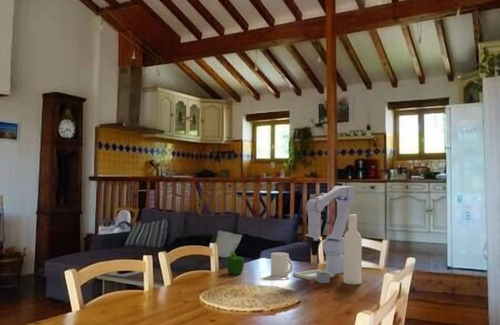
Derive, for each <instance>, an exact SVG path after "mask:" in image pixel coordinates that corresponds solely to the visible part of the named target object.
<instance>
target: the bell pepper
mask: <svg viewBox="0 0 500 325" xmlns="http://www.w3.org/2000/svg"><path fill="white" fill-rule="evenodd" d="M230 255H231V256H227V257H226V259H225V264H226V265H225V266H226V270H227V272H228V274H231V275H239V274H242V273H243V270H244V267H245V266H244V264H245V259H244V257H243V256H240V255H239V256H238V255H236V253H235V252H230Z"/></svg>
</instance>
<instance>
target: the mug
mask: <svg viewBox="0 0 500 325" xmlns="http://www.w3.org/2000/svg"><path fill="white" fill-rule="evenodd" d="M293 265H294V264H293V262H292V260H291V258H290V255H289V252H288V253H287V252H278V251H277V252H276V251H275V252H272V253H270V275H271V276H272V277H273V278H274V277H275V278H277V277H280V278H281V277H288V276H289V275H290V274H291V273H292V271H293V267H294V266H293Z"/></svg>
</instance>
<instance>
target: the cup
mask: <svg viewBox="0 0 500 325" xmlns="http://www.w3.org/2000/svg"><path fill="white" fill-rule="evenodd" d="M330 278H331V277H330V274H329V273H321V272H320V273H317V279H316V282H317V283H320V284H328V283H329V284H330V280H331V279H330Z"/></svg>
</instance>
